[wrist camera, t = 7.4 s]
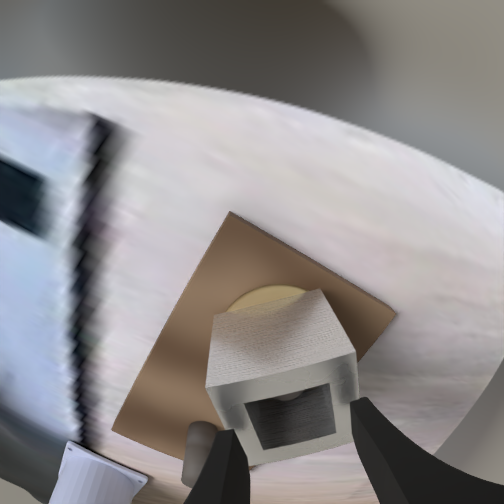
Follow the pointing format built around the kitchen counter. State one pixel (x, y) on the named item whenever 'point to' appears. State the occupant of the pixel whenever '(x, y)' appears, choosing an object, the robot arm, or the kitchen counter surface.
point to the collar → (283, 377)
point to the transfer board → (200, 330)
